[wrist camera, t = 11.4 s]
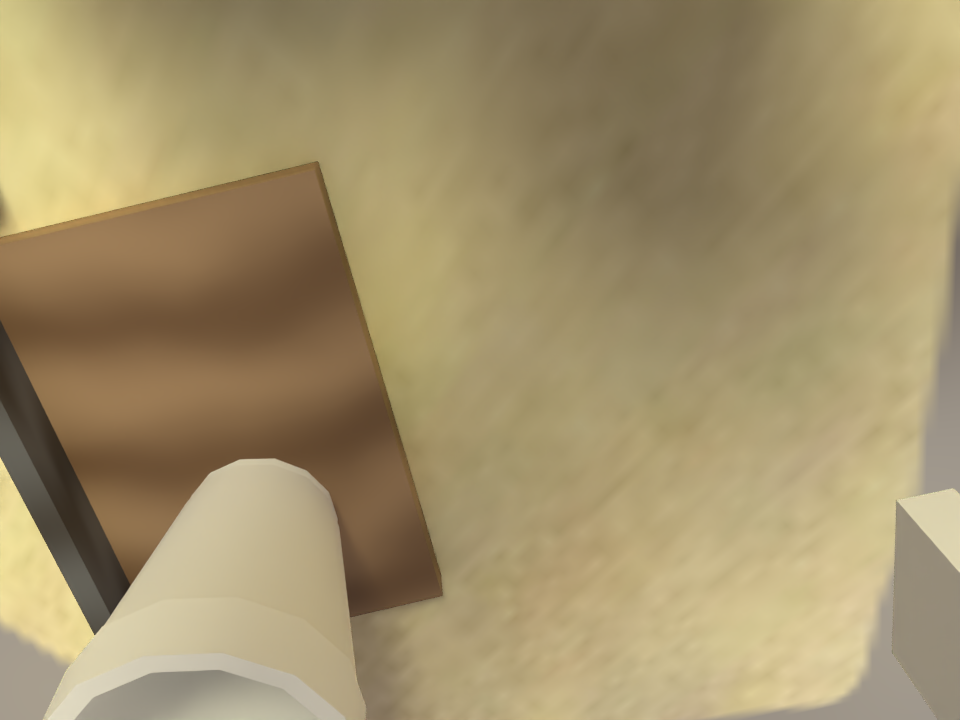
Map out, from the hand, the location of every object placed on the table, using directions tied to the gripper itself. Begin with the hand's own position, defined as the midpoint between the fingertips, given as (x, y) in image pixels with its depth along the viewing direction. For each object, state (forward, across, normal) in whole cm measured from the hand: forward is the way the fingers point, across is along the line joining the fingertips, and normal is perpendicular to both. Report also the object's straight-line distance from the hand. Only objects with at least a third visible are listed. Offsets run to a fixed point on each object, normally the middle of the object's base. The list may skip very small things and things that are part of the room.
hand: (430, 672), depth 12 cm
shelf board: (+24, -10, -8) cm, 27 cm away
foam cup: (+23, -9, -12) cm, 27 cm away
